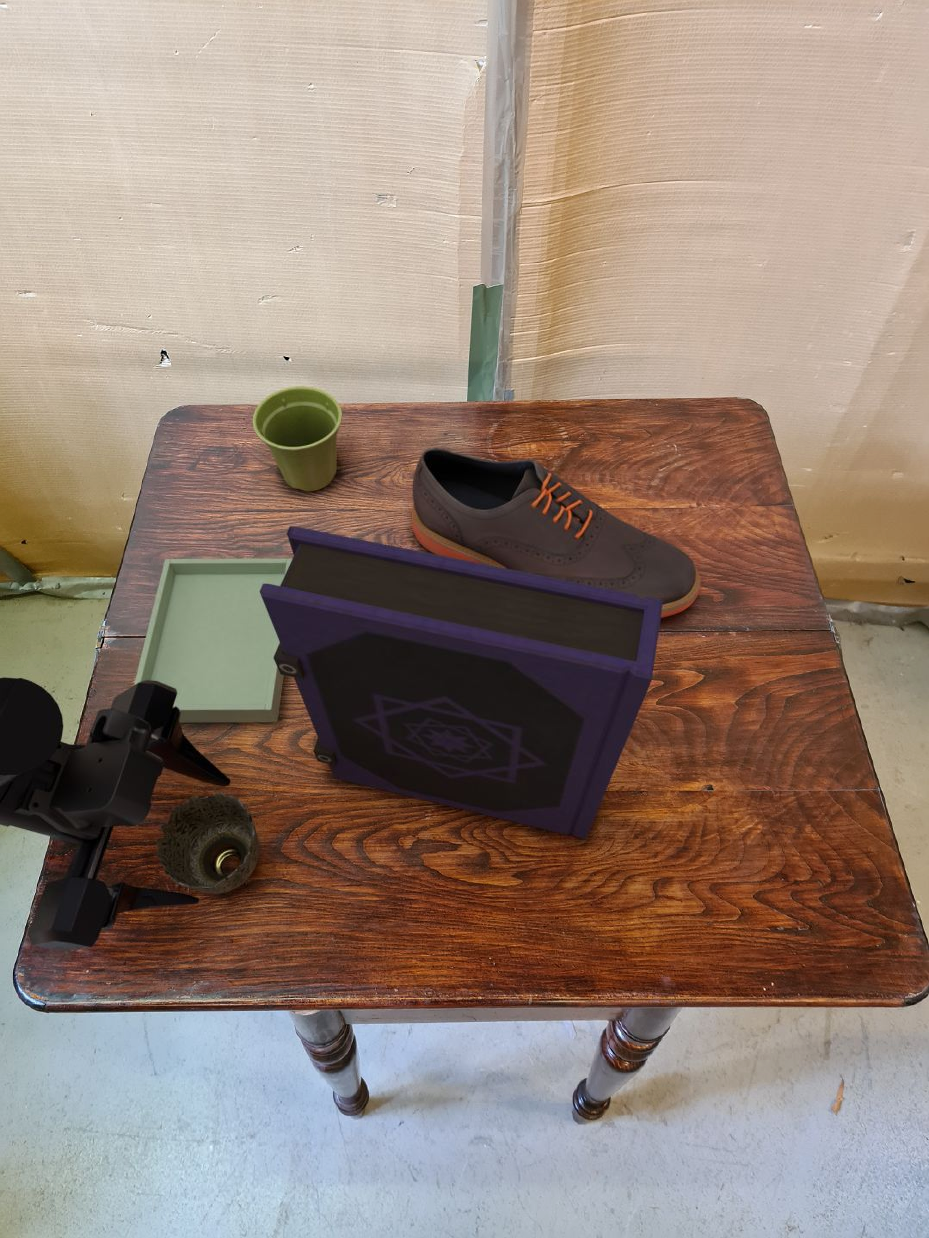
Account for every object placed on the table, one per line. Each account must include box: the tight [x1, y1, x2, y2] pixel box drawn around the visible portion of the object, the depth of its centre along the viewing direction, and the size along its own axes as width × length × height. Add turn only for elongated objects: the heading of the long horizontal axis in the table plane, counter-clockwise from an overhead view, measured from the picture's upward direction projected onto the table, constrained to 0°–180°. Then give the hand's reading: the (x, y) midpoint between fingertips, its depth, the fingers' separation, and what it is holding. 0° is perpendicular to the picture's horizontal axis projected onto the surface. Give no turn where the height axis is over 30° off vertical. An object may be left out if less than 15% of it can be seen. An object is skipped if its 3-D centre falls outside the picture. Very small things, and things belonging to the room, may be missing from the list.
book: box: [259, 525, 663, 840], centre depth 59 cm, size 24×6×30 cm, turn 76°
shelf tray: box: [133, 557, 293, 724], centre depth 78 cm, size 13×17×3 cm
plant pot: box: [252, 385, 343, 492], centre depth 88 cm, size 9×9×9 cm
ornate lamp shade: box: [155, 790, 260, 895], centre depth 65 cm, size 8×7×8 cm
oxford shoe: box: [411, 447, 702, 619], centre depth 80 cm, size 11×31×11 cm, turn 70°
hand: (212, 840), depth 62 cm, fingers open, 9 cm apart
